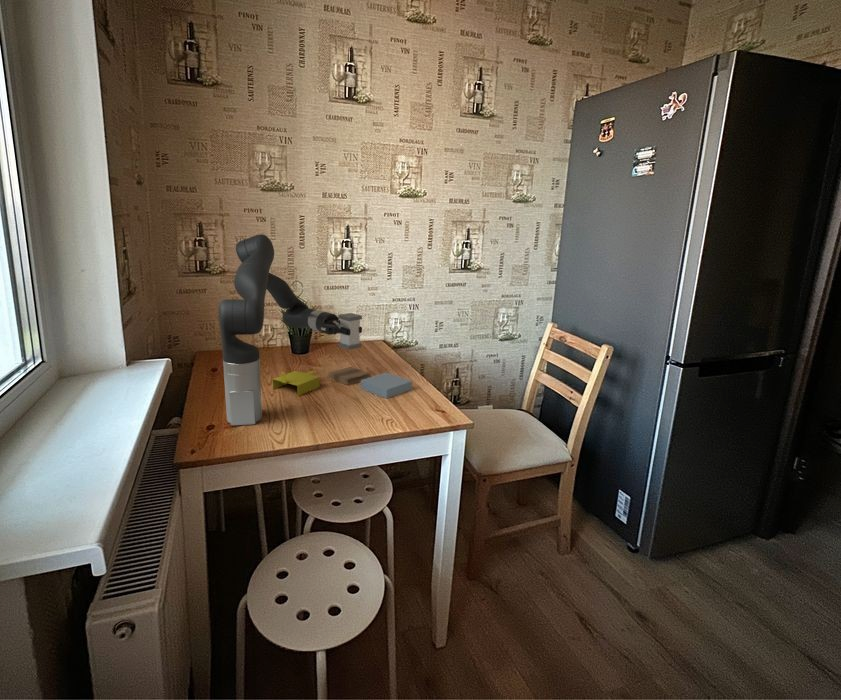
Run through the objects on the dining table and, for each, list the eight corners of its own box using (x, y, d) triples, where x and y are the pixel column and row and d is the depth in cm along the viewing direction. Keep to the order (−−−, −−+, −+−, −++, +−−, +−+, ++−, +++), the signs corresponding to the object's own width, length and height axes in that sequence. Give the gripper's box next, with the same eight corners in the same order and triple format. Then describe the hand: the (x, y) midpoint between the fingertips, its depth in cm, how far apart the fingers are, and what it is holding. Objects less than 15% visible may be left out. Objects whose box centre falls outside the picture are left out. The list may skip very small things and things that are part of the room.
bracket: (333, 364, 162) (302, 376, 149) (333, 386, 164) (302, 400, 151) (298, 356, 169) (265, 367, 156) (298, 377, 171) (266, 389, 159)
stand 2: (411, 389, 163) (412, 381, 163) (386, 398, 155) (386, 389, 154) (386, 380, 171) (386, 372, 170) (360, 388, 162) (360, 380, 161)
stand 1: (369, 378, 172) (369, 373, 171) (347, 385, 164) (347, 379, 164) (350, 372, 178) (350, 366, 177) (328, 378, 171) (328, 372, 170)
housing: (361, 347, 168) (362, 315, 165) (349, 349, 164) (349, 317, 161) (350, 343, 172) (351, 312, 169) (338, 346, 168) (338, 314, 165)
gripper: (306, 314, 169) (339, 323, 158) (339, 309, 179) (371, 317, 169) (307, 335, 171) (339, 345, 160) (338, 329, 181) (370, 338, 171)
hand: (355, 331), depth 165 cm, fingers closed on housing, 4 cm apart
